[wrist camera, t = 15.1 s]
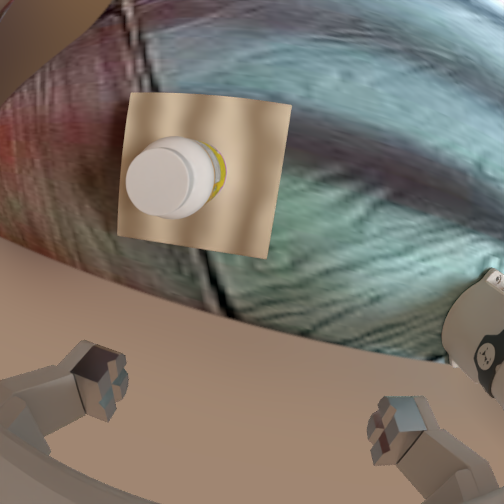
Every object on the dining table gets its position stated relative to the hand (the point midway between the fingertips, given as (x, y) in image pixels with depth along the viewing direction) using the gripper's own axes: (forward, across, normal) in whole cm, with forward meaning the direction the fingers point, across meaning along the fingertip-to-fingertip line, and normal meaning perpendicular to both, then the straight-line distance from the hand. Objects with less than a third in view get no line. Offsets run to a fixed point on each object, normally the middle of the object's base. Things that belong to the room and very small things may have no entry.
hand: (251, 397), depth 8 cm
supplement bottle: (+25, +9, -4) cm, 27 cm away
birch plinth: (+29, +9, -4) cm, 31 cm away
